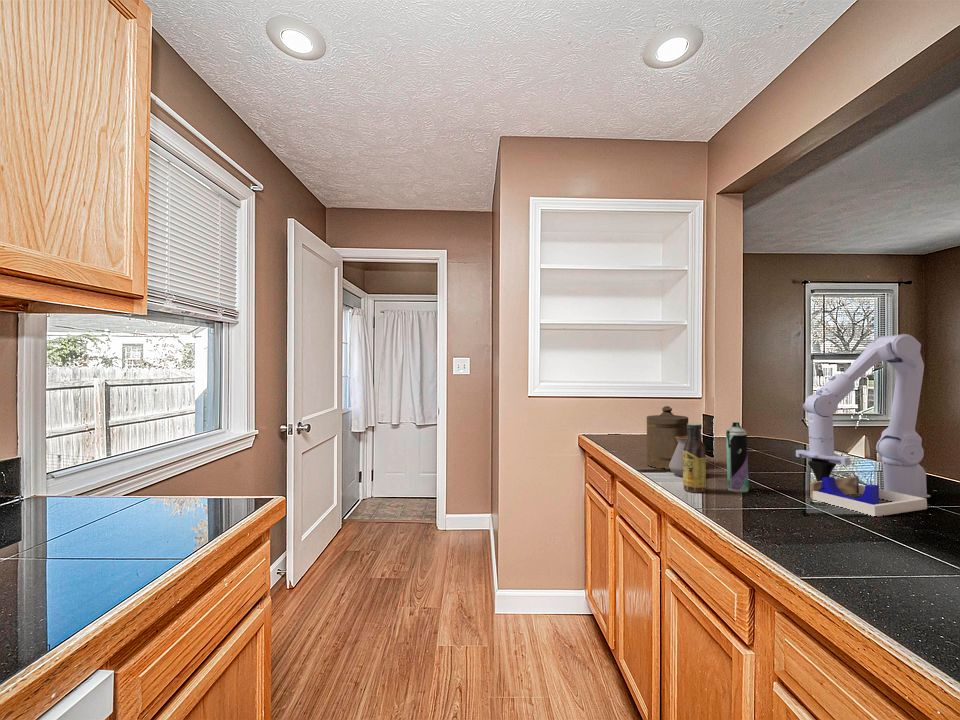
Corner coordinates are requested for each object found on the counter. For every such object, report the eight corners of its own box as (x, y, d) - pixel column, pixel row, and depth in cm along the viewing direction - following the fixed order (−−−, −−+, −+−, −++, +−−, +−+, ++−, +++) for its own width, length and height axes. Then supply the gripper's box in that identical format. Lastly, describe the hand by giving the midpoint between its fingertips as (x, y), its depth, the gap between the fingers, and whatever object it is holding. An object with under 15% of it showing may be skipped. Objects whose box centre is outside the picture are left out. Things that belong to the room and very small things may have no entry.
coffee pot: (666, 471, 177) (665, 428, 178) (701, 471, 175) (700, 428, 175) (677, 485, 156) (675, 437, 157) (717, 486, 154) (715, 437, 154)
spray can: (740, 493, 145) (738, 423, 146) (723, 489, 150) (721, 422, 151) (752, 490, 148) (750, 422, 148) (735, 486, 153) (733, 420, 153)
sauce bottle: (679, 488, 152) (677, 422, 153) (699, 487, 153) (697, 422, 153) (690, 494, 146) (688, 425, 146) (711, 493, 146) (708, 424, 147)
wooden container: (690, 463, 191) (688, 404, 191) (689, 471, 177) (687, 408, 177) (649, 461, 197) (647, 404, 197) (645, 468, 183) (643, 407, 183)
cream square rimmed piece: (856, 492, 143) (855, 475, 143) (927, 508, 126) (926, 489, 126) (807, 499, 137) (807, 481, 138) (875, 516, 121) (874, 496, 121)
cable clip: (819, 500, 136) (818, 478, 136) (829, 498, 138) (828, 476, 138) (869, 511, 126) (868, 487, 126) (879, 509, 127) (878, 485, 128)
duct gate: (853, 492, 142) (852, 477, 143) (856, 493, 142) (856, 477, 142) (810, 498, 138) (810, 482, 138) (814, 499, 137) (813, 483, 137)
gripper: (787, 435, 146) (788, 482, 146) (835, 442, 132) (837, 494, 132) (805, 434, 148) (807, 480, 148) (855, 440, 134) (857, 491, 134)
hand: (822, 486), depth 140 cm, fingers closed
